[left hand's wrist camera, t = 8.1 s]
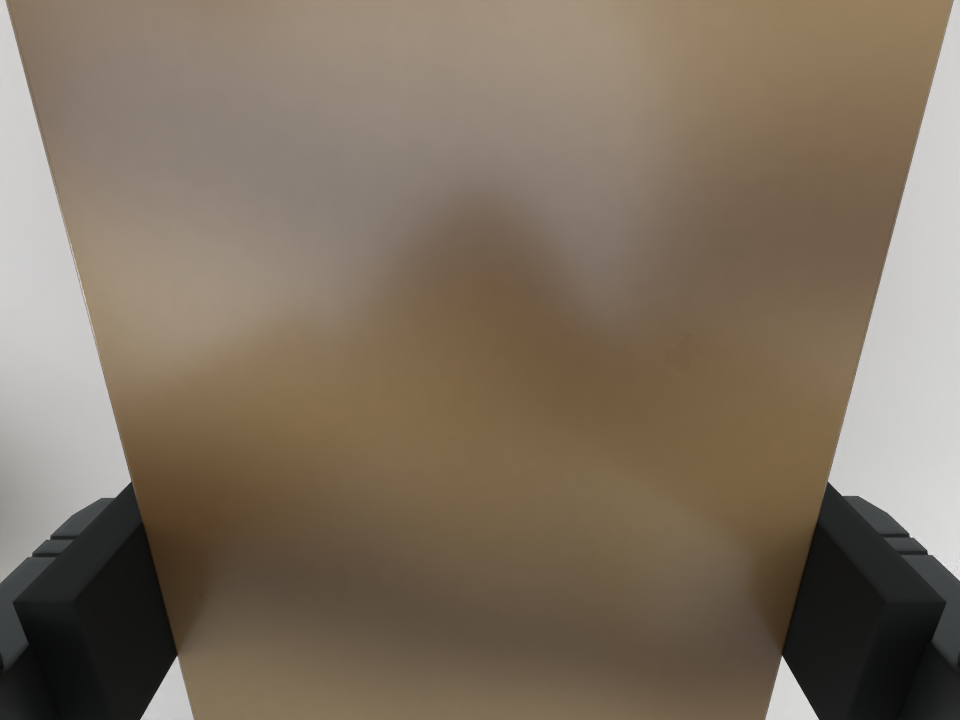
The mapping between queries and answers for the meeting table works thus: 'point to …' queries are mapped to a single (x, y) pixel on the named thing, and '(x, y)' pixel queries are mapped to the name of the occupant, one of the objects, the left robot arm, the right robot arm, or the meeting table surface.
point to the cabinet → (479, 330)
